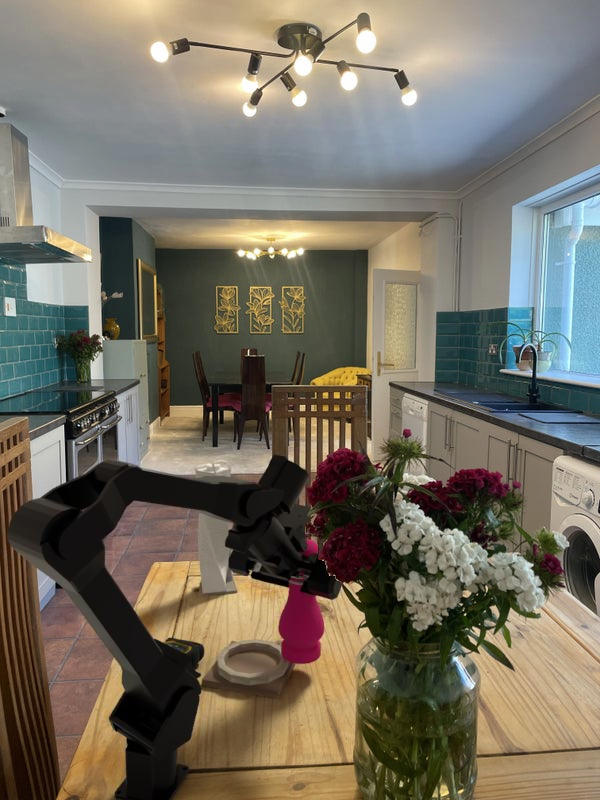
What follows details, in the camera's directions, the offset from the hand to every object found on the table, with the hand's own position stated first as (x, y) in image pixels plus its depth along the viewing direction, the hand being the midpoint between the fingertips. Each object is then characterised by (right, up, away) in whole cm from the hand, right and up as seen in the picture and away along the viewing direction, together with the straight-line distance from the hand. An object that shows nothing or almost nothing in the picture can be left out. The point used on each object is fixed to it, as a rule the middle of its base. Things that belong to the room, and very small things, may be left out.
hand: (306, 589), depth 94 cm
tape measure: (-21, -13, +2) cm, 24 cm away
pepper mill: (-1, -10, 0) cm, 10 cm away
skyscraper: (-19, -10, +31) cm, 37 cm away
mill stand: (-8, -13, 0) cm, 15 cm away
